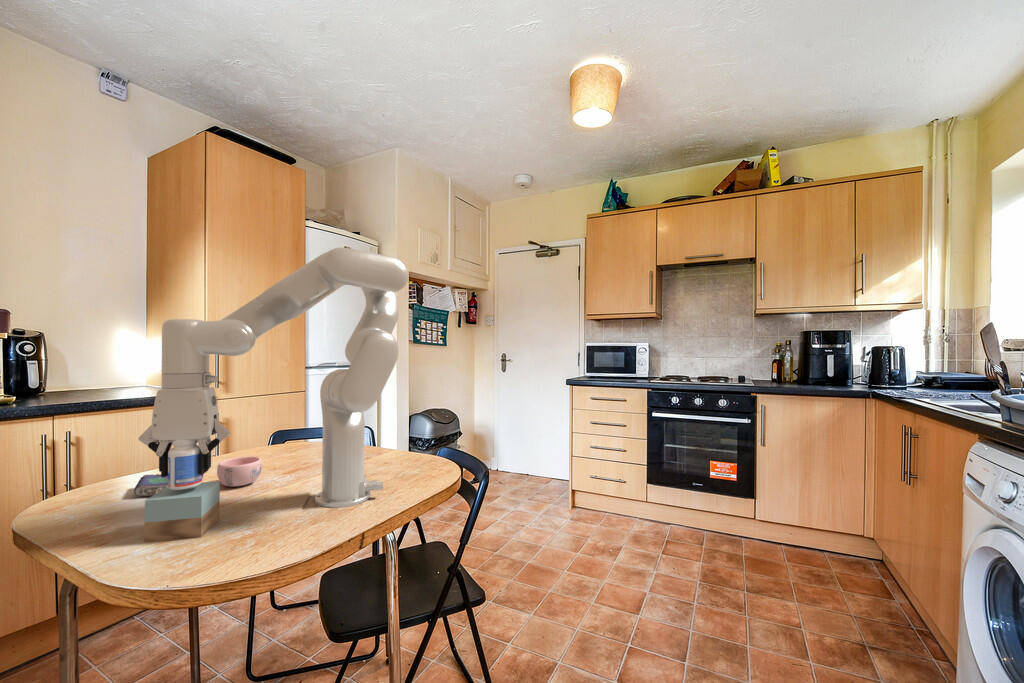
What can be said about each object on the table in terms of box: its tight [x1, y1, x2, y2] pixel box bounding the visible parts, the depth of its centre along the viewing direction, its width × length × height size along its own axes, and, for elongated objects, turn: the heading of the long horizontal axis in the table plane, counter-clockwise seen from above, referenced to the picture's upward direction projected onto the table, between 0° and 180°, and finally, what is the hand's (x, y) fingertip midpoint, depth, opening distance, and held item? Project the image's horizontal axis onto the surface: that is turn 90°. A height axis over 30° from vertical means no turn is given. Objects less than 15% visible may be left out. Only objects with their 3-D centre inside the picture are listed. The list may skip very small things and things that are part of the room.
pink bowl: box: [216, 456, 263, 487], centre depth 114 cm, size 12×10×6 cm
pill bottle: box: [168, 439, 203, 490], centre depth 85 cm, size 6×5×10 cm
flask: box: [133, 473, 168, 497], centre depth 106 cm, size 9×3×11 cm
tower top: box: [144, 480, 221, 523], centre depth 85 cm, size 9×9×4 cm
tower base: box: [144, 500, 221, 542], centre depth 85 cm, size 9×9×4 cm
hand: (185, 472), depth 85 cm, fingers closed on pill bottle, 5 cm apart
